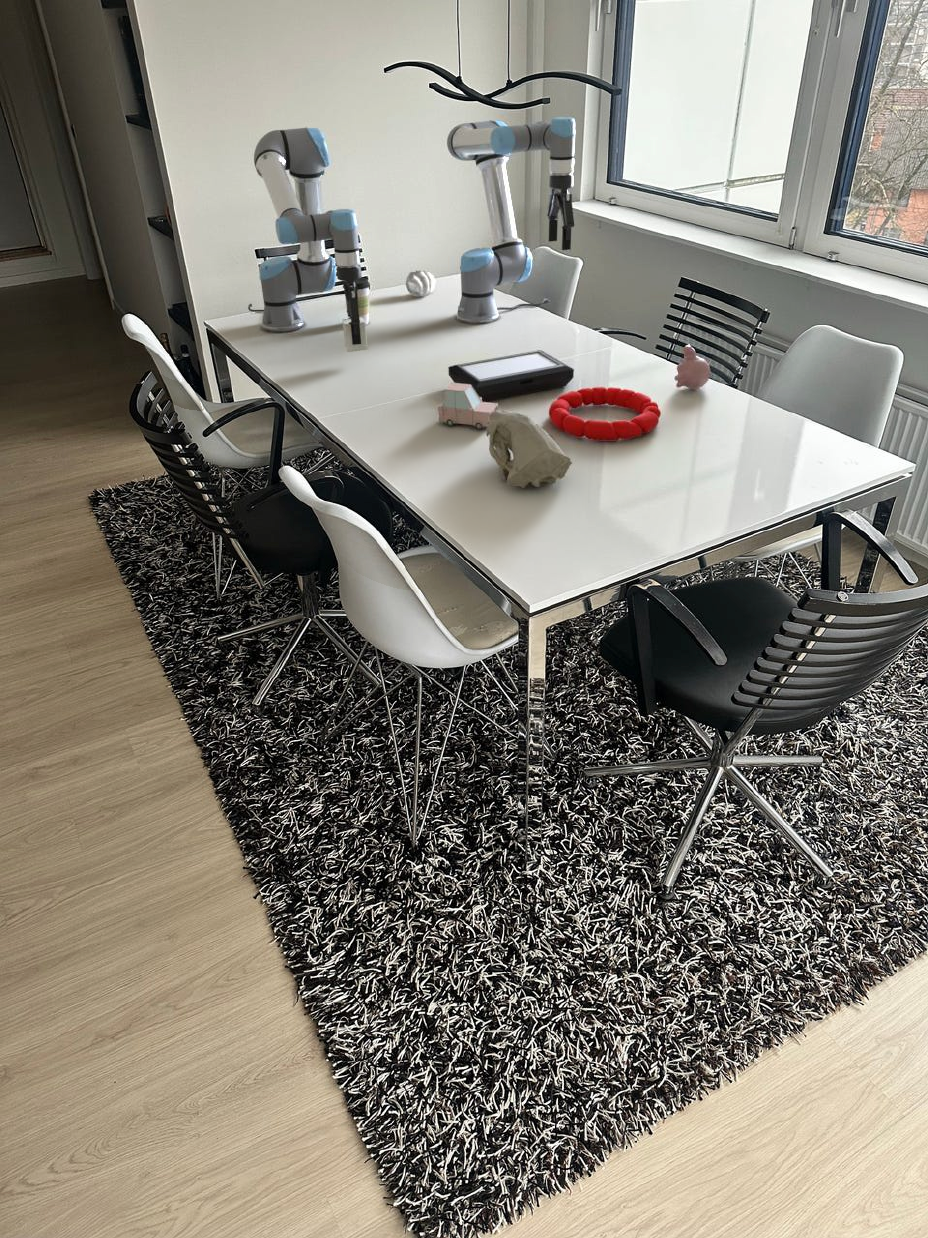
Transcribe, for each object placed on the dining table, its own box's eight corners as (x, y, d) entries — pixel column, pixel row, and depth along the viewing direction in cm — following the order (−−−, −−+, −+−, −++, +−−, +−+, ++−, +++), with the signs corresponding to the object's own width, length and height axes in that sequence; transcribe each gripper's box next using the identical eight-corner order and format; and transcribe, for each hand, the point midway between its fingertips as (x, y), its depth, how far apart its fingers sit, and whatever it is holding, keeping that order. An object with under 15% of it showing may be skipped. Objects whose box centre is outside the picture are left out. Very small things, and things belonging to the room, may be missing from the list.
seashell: (399, 296, 356) (397, 270, 350) (432, 290, 362) (431, 264, 356) (410, 301, 348) (409, 275, 343) (444, 295, 354) (443, 269, 349)
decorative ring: (589, 435, 224) (684, 402, 234) (527, 398, 247) (617, 369, 256) (589, 461, 229) (683, 427, 238) (529, 422, 251) (617, 393, 260)
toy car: (488, 432, 240) (488, 396, 234) (436, 426, 244) (434, 390, 239) (499, 419, 247) (499, 384, 241) (448, 413, 252) (447, 379, 246)
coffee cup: (372, 326, 323) (368, 283, 314) (345, 327, 323) (340, 284, 315) (374, 318, 331) (371, 276, 322) (348, 319, 331) (344, 277, 323)
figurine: (665, 387, 264) (669, 347, 257) (693, 380, 268) (698, 340, 261) (686, 396, 257) (690, 355, 250) (714, 388, 262) (720, 348, 255)
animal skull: (496, 517, 219) (521, 479, 201) (463, 429, 225) (484, 384, 207) (557, 503, 225) (586, 465, 206) (523, 417, 231) (549, 373, 212)
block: (347, 351, 284) (344, 323, 279) (345, 346, 288) (342, 319, 283) (367, 349, 285) (364, 322, 280) (365, 344, 289) (362, 317, 284)
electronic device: (476, 384, 253) (448, 364, 268) (476, 405, 256) (449, 384, 271) (574, 366, 263) (541, 347, 278) (573, 386, 266) (541, 367, 281)
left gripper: (364, 271, 265) (371, 348, 278) (356, 257, 280) (363, 331, 293) (339, 273, 264) (347, 350, 277) (332, 259, 279) (340, 333, 292)
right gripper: (586, 178, 271) (583, 252, 283) (560, 167, 291) (558, 236, 303) (563, 180, 270) (560, 254, 282) (538, 168, 290) (536, 238, 302)
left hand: (355, 340), depth 285 cm, fingers closed on block, 6 cm apart
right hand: (559, 245), depth 292 cm, fingers open, 13 cm apart
